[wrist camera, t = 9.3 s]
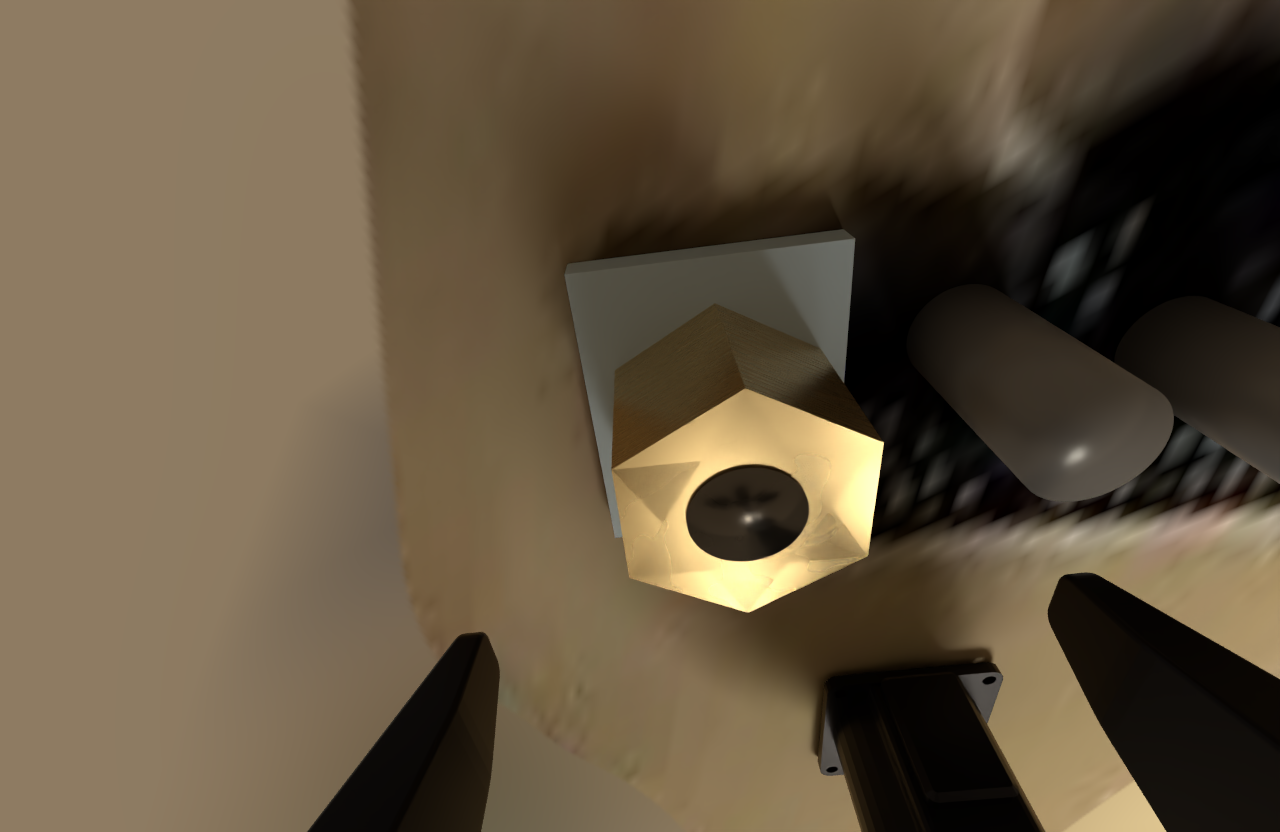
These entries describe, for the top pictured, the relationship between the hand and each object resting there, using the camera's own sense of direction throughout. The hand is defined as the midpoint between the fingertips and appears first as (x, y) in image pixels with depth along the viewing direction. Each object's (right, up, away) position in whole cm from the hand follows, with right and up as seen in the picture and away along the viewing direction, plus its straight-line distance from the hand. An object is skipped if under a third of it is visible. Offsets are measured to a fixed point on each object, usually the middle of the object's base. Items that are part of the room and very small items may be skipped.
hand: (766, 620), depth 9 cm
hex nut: (0, +3, +6) cm, 7 cm away
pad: (0, +4, +6) cm, 7 cm away
